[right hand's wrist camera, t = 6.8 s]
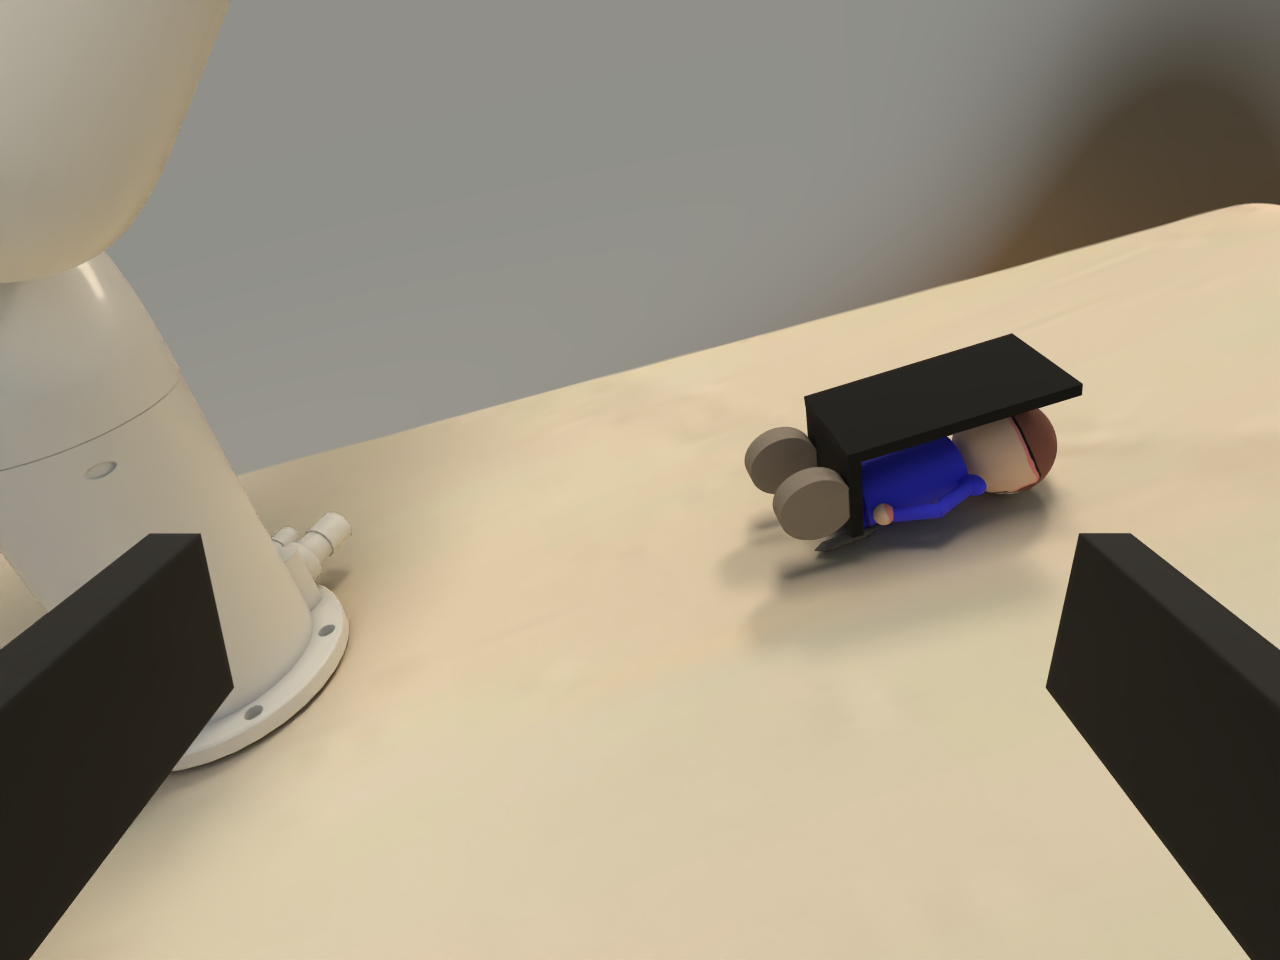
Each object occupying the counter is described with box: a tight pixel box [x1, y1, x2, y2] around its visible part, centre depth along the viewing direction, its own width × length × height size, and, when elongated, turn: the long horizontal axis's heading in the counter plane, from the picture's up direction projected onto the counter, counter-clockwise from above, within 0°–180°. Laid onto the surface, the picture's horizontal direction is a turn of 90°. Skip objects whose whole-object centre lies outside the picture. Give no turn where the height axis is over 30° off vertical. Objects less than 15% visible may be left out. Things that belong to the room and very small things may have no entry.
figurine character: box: [745, 334, 1083, 552], centre depth 42 cm, size 7×8×15 cm
